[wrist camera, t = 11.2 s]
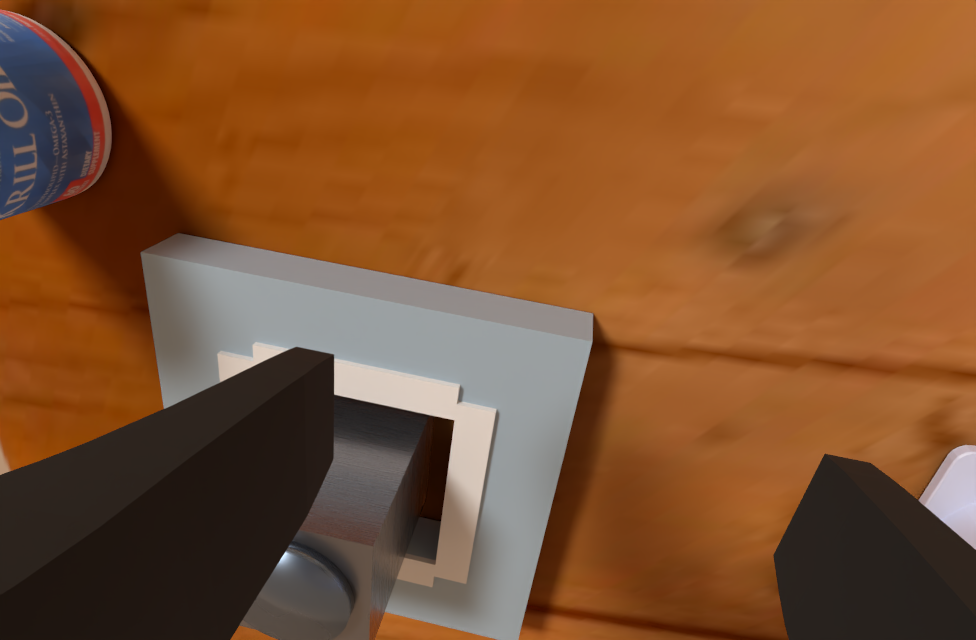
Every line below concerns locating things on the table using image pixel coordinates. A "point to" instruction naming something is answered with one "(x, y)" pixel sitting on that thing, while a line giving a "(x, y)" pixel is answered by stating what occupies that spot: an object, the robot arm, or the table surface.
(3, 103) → the pill bottle
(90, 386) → the table surface
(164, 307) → the mount plate
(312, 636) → the lens block
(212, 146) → the table surface
